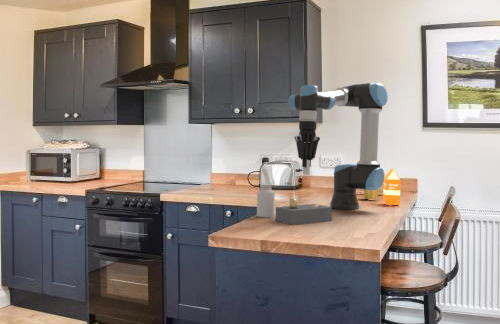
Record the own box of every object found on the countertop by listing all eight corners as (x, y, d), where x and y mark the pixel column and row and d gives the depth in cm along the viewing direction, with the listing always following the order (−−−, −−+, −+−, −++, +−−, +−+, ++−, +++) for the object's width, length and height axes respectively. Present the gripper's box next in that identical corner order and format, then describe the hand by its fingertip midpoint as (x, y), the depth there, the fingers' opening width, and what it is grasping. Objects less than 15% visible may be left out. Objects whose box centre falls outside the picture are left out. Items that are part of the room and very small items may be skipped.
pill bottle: (259, 218, 220) (260, 185, 219) (254, 215, 227) (255, 183, 227) (276, 217, 222) (276, 184, 221) (270, 214, 230) (271, 183, 229)
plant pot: (358, 199, 296) (358, 183, 295) (373, 198, 299) (373, 182, 298) (367, 201, 286) (367, 184, 285) (382, 200, 289) (383, 184, 289)
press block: (313, 216, 225) (314, 204, 225) (331, 220, 215) (331, 207, 215) (275, 220, 213) (275, 207, 213) (292, 224, 203) (292, 210, 203)
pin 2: (314, 216, 219) (314, 204, 219) (319, 217, 217) (319, 205, 216) (309, 217, 218) (309, 205, 217) (313, 218, 215) (313, 206, 215)
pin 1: (293, 210, 213) (293, 198, 212) (298, 211, 210) (298, 199, 210) (287, 211, 211) (288, 198, 211) (292, 212, 208) (292, 199, 208)
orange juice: (396, 204, 276) (397, 168, 275) (400, 206, 267) (401, 169, 266) (382, 203, 276) (383, 168, 275) (385, 205, 268) (386, 169, 267)
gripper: (313, 121, 219) (311, 174, 220) (290, 120, 212) (289, 174, 213) (324, 121, 213) (323, 175, 214) (301, 119, 206) (300, 175, 207)
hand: (306, 174), depth 213 cm, fingers closed
